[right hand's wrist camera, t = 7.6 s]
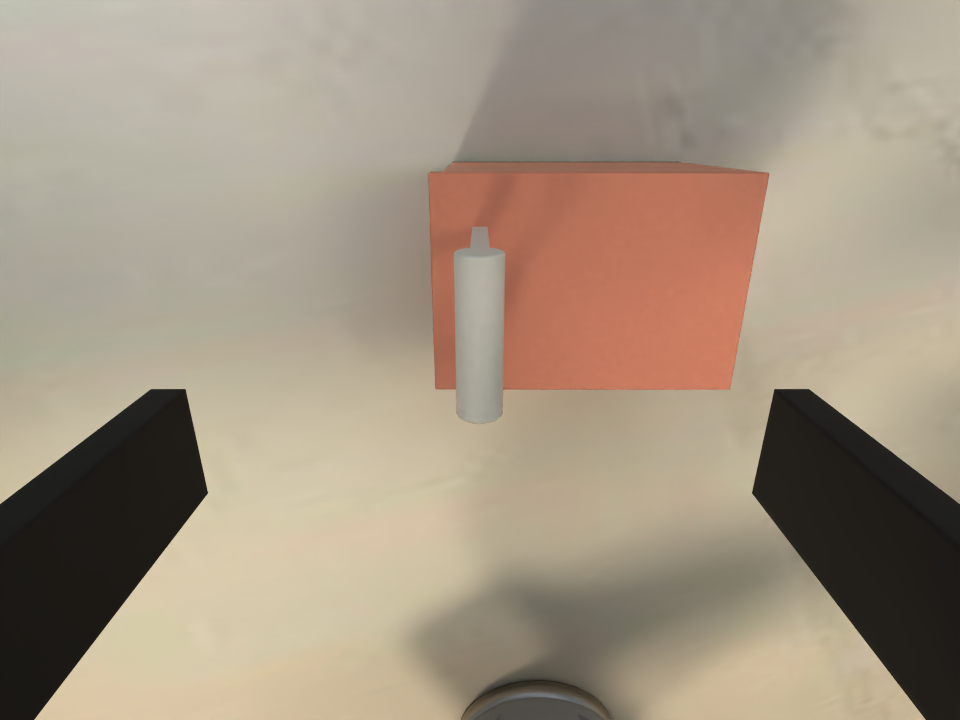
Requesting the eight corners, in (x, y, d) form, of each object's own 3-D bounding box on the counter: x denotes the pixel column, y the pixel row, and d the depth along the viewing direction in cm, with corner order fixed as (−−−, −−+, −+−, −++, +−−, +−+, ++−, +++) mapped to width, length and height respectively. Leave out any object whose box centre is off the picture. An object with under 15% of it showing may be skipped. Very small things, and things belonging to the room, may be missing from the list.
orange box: (436, 382, 28) (419, 474, 21) (429, 171, 25) (406, 187, 17) (722, 382, 28) (814, 475, 21) (760, 171, 25) (890, 187, 17)
